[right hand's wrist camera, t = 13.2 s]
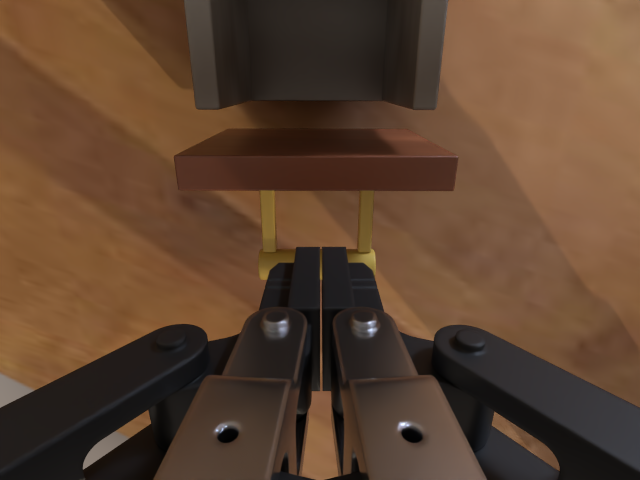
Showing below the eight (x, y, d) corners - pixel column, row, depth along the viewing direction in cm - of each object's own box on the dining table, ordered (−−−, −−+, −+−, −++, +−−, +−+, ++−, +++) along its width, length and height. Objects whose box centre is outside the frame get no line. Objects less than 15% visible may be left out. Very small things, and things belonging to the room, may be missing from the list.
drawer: (398, 244, 23) (436, 323, 15) (236, 244, 23) (195, 323, 15) (441, -278, 15) (566, -648, 7) (193, -278, 15) (62, -649, 7)
